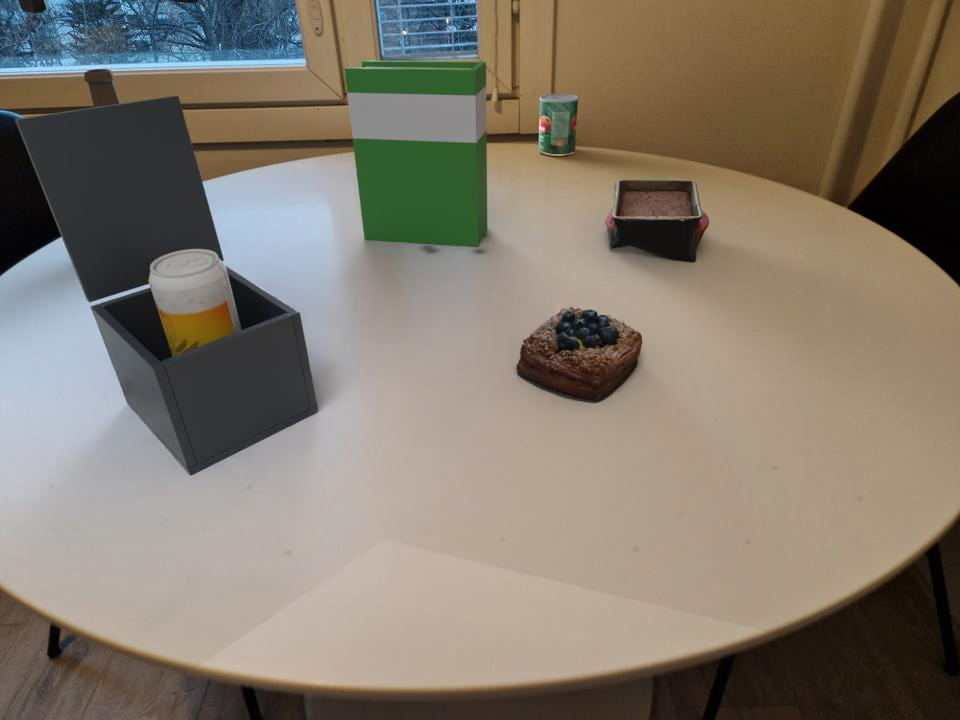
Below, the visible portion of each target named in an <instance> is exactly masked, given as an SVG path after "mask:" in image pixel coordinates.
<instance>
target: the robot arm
mask: <svg viewBox="0 0 960 720" xmlns="http://www.w3.org/2000/svg"><path fill="white" fill-rule="evenodd" d="M17 1H18V4H19V7H20V9H21V10H22V12H26V13H30V14H44V11H47V6H46V3H45V0H17ZM173 1H174V2H176V3H183V4H198V3H199V0H173Z"/></svg>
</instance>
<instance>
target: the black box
mask: <svg viewBox="0 0 960 720" xmlns="http://www.w3.org/2000/svg"><path fill="white" fill-rule="evenodd" d="M225 266H226V269H227V273H228V277H229V281H230V285H231V289H232V293H233V297H234V301H235V305H236V309H237V313H238V318H239V322H240V326H241V331H238V332H236V333H233V334H231V335H228V336H225V337H223V338H220V339H218V340H215V341H212V342H210V343H207V344H205V345H202V346H199V347H197V348H194V349H192V350H189V351H186V352H184V353H181V354H179V355H176V356H172V353H171V350H170V347H169V344H168V341H167V337H166V334H165V331H164V328H163V325H162V322H161V319H160V316H159V312H158V309H157V306H156V303H155V300H154V297H153V294H152V291H151V288H150V287H147V288H145V289H141V290H137V291H135V292H131V293H128V294H125V295H121V296H119V297H115V298H112V299H109V300H106V301H103V302H100V303H96V304H93V305H91V306H90V310H91V312H92V315H93V317H94V320H95V322H96V325H97V328H98V331H99V333H100V336H101V338H102V341H103V344H104V345H105V349H106V350H107V354H108V357H109V359H110V363H111V365H112V367H113V370H114V372H115V373H114V374H115V375H116V377H117V380H118V383H119V386H120V388H121V391H122V393H123V396H124V400H125V401H126V404H127V405H128V406H129V407H130V408H131V410H132V411H133V412H134V413H135V414H136V415H137V417H139V419H140V420H141V422H143V423H144V424H145V425H146V427H147V428H148V429H149V430H150V431H151V432H152V434H153V435H154V436H155V437H156V438H157V439H158V440H159V442H160V443H161V444H162V445H163V446H164V447H165V448H166V450H167V451H168V452H169V453H170V454H171V456H172V457H173V458H174V459H175V460H176V461H177V463H179V465H180V466H181V467H182V468H183V469H184V471H186V473H187V474H188V475H189V476H192V475H194V474H196V473H198V472H200V471H202V470H204V469H207V468H208V467H211V466H212V465H214V464H216V463H218V462H220V461H223V460H224V459H226V458H229V457H230V456H232V455H234V454H237V453H238V452H240V451H242V450H244V449H246V448H248V447H250V446H252V445H254V444H256V443H258V442H260V441H263V440H264V439H266V438H269V437H270V436H273V435H274V434H276V433H279V432H281V431H283V430H284V429H286V428H288V427H290V426H293V425H294V424H296V423H298V422H300V421H303V420H304V419H306V418H308V417H310V416H312V415H314V414H316V413H318V412H319V407H318V401H317V398H316V390H315V386H314V381H313V375H312V370H311V364H310V359H309V353H308V347H307V343H306V338H305V333H304V327H303V321H302V315H301V312H300V311H299V310H297V309H295V308H294V307H292V306H290V305H289V304H287V303H286V302H284V301H283V300H282V299H279V298H278V297H276V296H274V295H273V294H272V293H270V292H268V291H267V290H265V289H264V288H262V287H260V286H259V285H258V284H256V283H254V282H252V281H251V280H250V279H248V278H246V277H244V276H243V275H241V274H240V273H238V272H236V271H235V270H234V269H232V268H230V267H229V266H227V265H225Z"/></svg>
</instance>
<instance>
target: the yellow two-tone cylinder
mask: <svg viewBox="0 0 960 720" xmlns="http://www.w3.org/2000/svg"><path fill="white" fill-rule="evenodd" d="M226 266H227V265H225V263H224V261H221V260H220V259H219V257H218V255H217V254H216V253H215V252H213V251H211V250H206V249H188V250H181V251H176V252H172V253H169V254H166V255H164V256H161V257H159V258H158V259H156V260H155V261H153V262H152V263H151V265H150V270H151V271H150V276H149V284H148V285H149V288H151V291H152V294H153V297H154V300H155V303H156V306H157V309H158V312H159V316H160V319H161V322H162V325H163V328H164V331H165V334H166V337H167V341H168V344H169V347H170V350H171V353H172V356H176V355H179V354H181V353H184V352H186V351H189V350H192V349H194V348H197V347H199V346H202V345H205V344H207V343H210V342H212V341H215V340H218V339H220V338H223V337H225V336H228V335H231V334H233V333H236V332H238V331H241V326H240V322H239V318H238V313H237V309H236V305H235V301H234V297H233V293H232V289H231V285H230V281H229V277H228V273H227V269H226Z"/></svg>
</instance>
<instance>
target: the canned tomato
mask: <svg viewBox="0 0 960 720" xmlns="http://www.w3.org/2000/svg"><path fill="white" fill-rule="evenodd" d="M578 106H579V96H578V95H573V94H568V93H549V94H544V95H541V96H540V97H539V119H538V120H539V122H538V124H539V125H538V149H540V151H543V152H546V153H550V154H569V153H572V152H574V151H575V152H576V140H577V125H578V124H577V123H578V108H579V107H578Z"/></svg>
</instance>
